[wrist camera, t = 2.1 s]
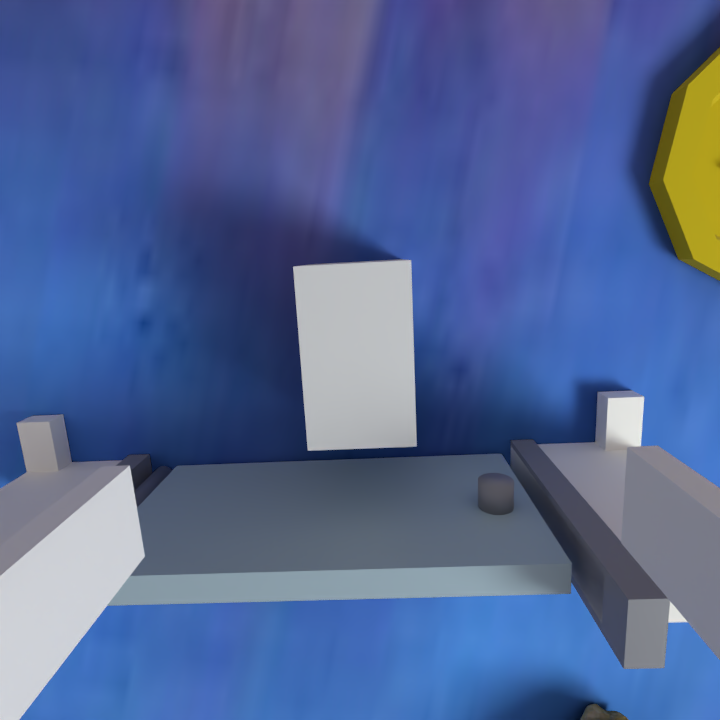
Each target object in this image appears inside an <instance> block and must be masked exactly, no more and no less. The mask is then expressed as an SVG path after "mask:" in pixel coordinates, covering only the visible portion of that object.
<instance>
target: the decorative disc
mask: <svg viewBox="0 0 720 720" xmlns="http://www.w3.org/2000/svg"><path fill="white" fill-rule="evenodd" d="M649 186H650V188H651V191H652V193H653V196H654V198H655V201H656V203H657V206H658V209H659V211H660V214H661V216H662V219H663V221H664V224H665V226H666V229H667V231H668V234H669V237H670V239H671V242H672V244H673V247H674V249H675V252H676V254H677V257H678V259H679V260H681V261H683V262H685V263H687V264H689V265H691V266H692V267H694V268H696V269H698V270H700V271H702V272H704V273H706V274H708V275H709V276H711V277H713V278H715V279H717V280H719V281H720V47H719V48H718V49H717V50H716V51H715V52H714V53H713V54H712V55H711V56H710V57H709V58H708V59H707V60H706V61H705V62H704V63H703V64H702V65H701V66H700V67H699V68H698V69H697V70H696V71H695V72H694V73H693V74H692V75H691V76H690V77H689V78H688V79H687V80H686V81H685V82H684V83H682V84H681V85H680V86H679V87H678V88H677V89H676V90H675V91H674V92H673V93H672V95H671V99H670V103H669V107H668V111H667V115H666V119H665V123H664V126H663V130H662V134H661V138H660V142H659V146H658V150H657V154H656V158H655V162H654V166H653V169H652V173H651V177H650V181H649Z"/></svg>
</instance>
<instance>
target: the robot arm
mask: <svg viewBox="0 0 720 720" xmlns="http://www.w3.org/2000/svg"><path fill="white" fill-rule="evenodd" d="M621 543H622V545H623V546H624V547H625V548H626V549H627V551H628V552H629V553H630V554H631V555H632V556H633V558H634V559H635V560H636V561H637V562H638V564H639V565H640V566H641V567H642V568H643V570H644V571H645V572H646V573H647V574H648V575H649V577H650V578H651V579H652V580H653V581H654V583H655V584H656V585H657V586H658V587H659V588H660V590H661V591H662V592H663V593H664V594H665V596H666V597H667V598H668V599H669V600H670V602H671V603H672V604H673V605H674V606H675V607H676V609H677V610H678V611H679V612H680V613H681V615H682V616H683V617H684V618H685V619H686V620H687V622H688V623H689V624H690V625H691V626H692V628H693V629H694V630H695V631H696V632H697V634H698V635H699V636H700V637H701V638H702V639H703V641H704V642H705V643H706V644H707V645H708V647H709V648H710V649H711V650H712V651H713V652H714V654H715V655H716V656H717V657H718V658H719V660H720V488H719V487H717V486H716V485H714V484H713V483H711V482H710V481H709V480H707V479H706V478H704V477H703V476H701V475H700V474H698V473H697V472H695V471H694V470H692V469H691V468H690V467H688V466H687V465H685V464H684V463H682V462H681V461H679V460H678V459H676V458H675V457H673V456H672V455H671V454H669V453H668V452H666V451H665V450H663V449H662V448H660V447H659V446H638V447H627V458H626V474H625V489H624V505H623V520H622V536H621ZM144 557H145V554H144V548H143V542H142V536H141V530H140V524H139V518H138V512H137V505H136V499H135V493H134V487H133V481H132V475H131V469H130V465H124V466H102V467H101V468H99V469H98V470H97V471H96V472H94V473H93V474H92V475H90V476H89V477H88V478H86V479H85V480H84V481H83V482H81V483H80V484H79V485H77V486H76V487H75V488H73V489H72V490H71V491H70V492H68V493H67V494H66V495H64V496H63V497H62V498H60V499H59V500H58V501H57V502H55V503H54V504H53V505H51V506H50V507H49V508H48V509H46V510H45V511H44V512H42V513H41V514H40V515H38V516H37V517H36V518H35V519H33V520H32V521H31V522H29V523H28V524H27V525H25V526H24V527H23V528H22V529H20V530H19V531H18V532H16V533H15V534H14V535H12V536H11V537H10V538H9V539H7V540H6V541H5V542H3V543H2V544H1V545H0V720H19V719H20V718H21V717H22V715H23V714H24V713H25V712H26V710H27V709H28V708H29V706H30V705H31V704H32V702H33V701H34V700H35V699H36V697H37V696H38V695H39V693H40V692H41V691H42V689H43V688H44V687H45V686H46V684H47V683H48V682H49V680H50V679H51V678H52V676H53V675H54V674H55V673H56V671H57V670H58V669H59V667H60V666H61V665H62V663H63V662H64V661H65V660H66V658H67V657H68V656H69V654H70V653H71V652H72V650H73V649H74V648H75V647H76V645H77V644H78V643H79V641H80V640H81V639H82V637H83V636H84V635H85V634H86V632H87V631H88V630H89V628H90V627H91V626H92V624H93V623H94V622H95V621H96V619H97V618H98V617H99V615H100V614H101V613H102V611H103V610H104V609H105V608H106V606H107V605H108V604H109V602H110V601H111V600H112V598H113V597H114V596H115V595H116V593H117V592H118V591H119V589H120V588H121V587H122V585H123V584H124V583H125V582H126V580H127V579H128V578H129V576H130V575H131V574H132V572H133V571H134V570H135V569H136V567H137V566H138V565H139V563H140V562H141V561H142V559H143V558H144Z"/></svg>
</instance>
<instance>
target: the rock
mask: <svg viewBox="0 0 720 720" xmlns="http://www.w3.org/2000/svg"><path fill="white" fill-rule="evenodd" d="M580 720H628V719H627V717H625V716H624V715H623V714H621V713H619V712H617V711H606V710H603V709H602V708H601V707H600V706H598V705H597V704H591V705H588V706H587V707H586V709H585V711H584V713H583V715H582V717H581V719H580Z"/></svg>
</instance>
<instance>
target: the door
mask: <svg viewBox="0 0 720 720" xmlns="http://www.w3.org/2000/svg"><path fill="white" fill-rule="evenodd" d="M134 493H135V499H136V505H137V512H138V518H139V524H140V530H141V536H142V542H143V548H144V554H145V557H144V558H143V559H142V561H141V562H140V563H139V565H138V566H137V567H136V569H135V570H134V571H133V572H132V574H131V575H130V576H129V578H128V579H127V580H126V582H125V583H124V584H123V585H122V587H121V588H120V589H119V591H118V592H117V593H116V595H115V596H114V597H113V598H112V600H111V601H110V602H109V604H108V605H107V606H110V605H149V604H188V603H227V602H266V601H305V600H344V599H383V598H421V597H460V596H499V595H538V594H571V573H572V563H571V561H570V560H569V558H568V557H567V555H566V554H565V552H564V550H563V549H562V547H561V546H560V544H559V543H558V541H557V540H556V538H555V536H554V535H553V533H552V532H551V530H550V529H549V527H548V525H547V524H546V522H545V521H544V519H543V518H542V516H541V515H540V513H539V511H538V510H537V508H536V507H535V505H534V504H533V502H532V501H531V499H530V497H529V496H528V494H527V493H526V491H525V490H524V488H523V486H522V485H521V483H520V482H519V480H518V479H517V477H516V476H515V474H514V472H513V471H512V469H511V468H510V466H509V465H508V463H507V462H506V460H505V458H504V457H503V455H502V454H476V455H449V456H423V457H396V458H369V459H343V460H316V461H289V462H263V463H236V464H209V465H183V466H176V467H175V468H174V469H173V470H171V469H170V468H169V467H167V466H160V467H158V468H157V469H156V470H155V471H154V472H153V473H152V474H151V475H150V476H149V477H148V478H147V479H146V480H145V481H144V482H143V483H142V484H141V485H140V486H139V487H138V488H137V489H136V490H135V491H134Z"/></svg>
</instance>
